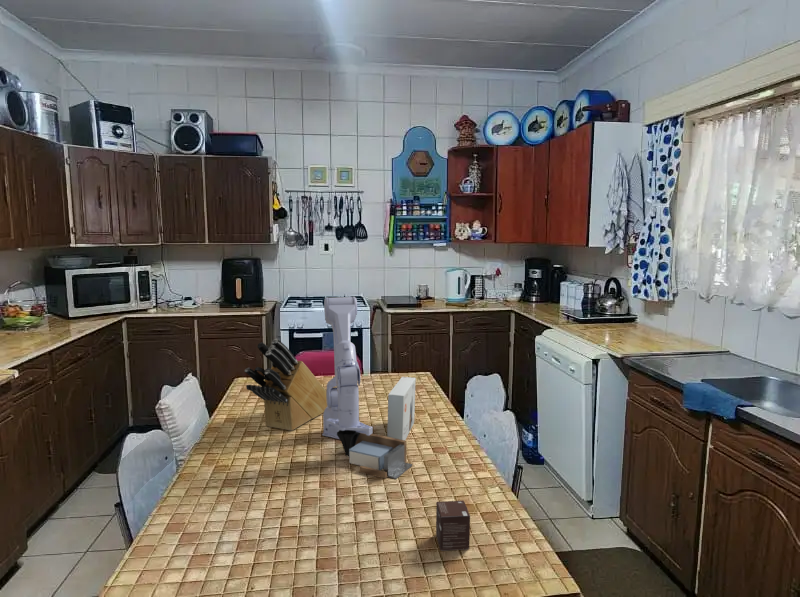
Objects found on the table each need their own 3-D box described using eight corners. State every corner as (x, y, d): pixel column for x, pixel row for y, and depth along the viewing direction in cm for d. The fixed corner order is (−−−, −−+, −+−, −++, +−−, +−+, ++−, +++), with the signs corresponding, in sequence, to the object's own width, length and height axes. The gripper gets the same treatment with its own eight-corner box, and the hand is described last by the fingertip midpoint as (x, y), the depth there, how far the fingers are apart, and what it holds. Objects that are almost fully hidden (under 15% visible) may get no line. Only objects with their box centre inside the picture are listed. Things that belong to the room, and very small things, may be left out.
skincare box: (404, 447, 152) (403, 395, 150) (386, 445, 153) (386, 394, 151) (416, 422, 172) (416, 376, 171) (400, 421, 173) (400, 375, 172)
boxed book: (348, 463, 141) (348, 450, 140) (362, 453, 147) (362, 440, 147) (379, 471, 136) (379, 457, 136) (393, 460, 142) (392, 447, 142)
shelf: (329, 464, 140) (328, 443, 139) (352, 449, 150) (352, 429, 150) (385, 478, 132) (385, 456, 131) (406, 461, 142) (406, 440, 141)
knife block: (244, 437, 160) (240, 340, 157) (309, 404, 192) (307, 323, 188) (272, 443, 155) (269, 343, 152) (335, 408, 187) (333, 325, 183)
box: (435, 534, 107) (435, 501, 106) (463, 532, 107) (464, 499, 106) (440, 551, 101) (440, 516, 100) (470, 550, 101) (470, 515, 100)
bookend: (384, 476, 133) (384, 456, 132) (400, 462, 141) (400, 443, 140) (396, 479, 131) (396, 458, 131) (412, 465, 139) (412, 446, 139)
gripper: (318, 408, 142) (320, 454, 143) (362, 416, 135) (363, 465, 137) (333, 401, 148) (334, 446, 150) (376, 409, 141) (376, 455, 143)
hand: (349, 454), depth 143 cm, fingers closed
